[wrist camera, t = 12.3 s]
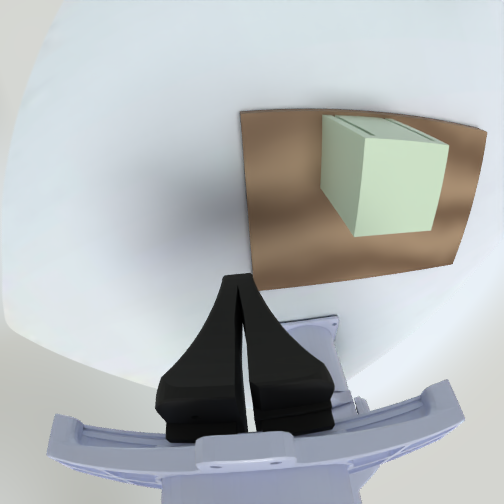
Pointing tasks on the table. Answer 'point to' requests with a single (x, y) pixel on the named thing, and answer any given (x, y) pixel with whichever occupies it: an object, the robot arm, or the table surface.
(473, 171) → the board
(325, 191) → the green slotted cube
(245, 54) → the table surface
